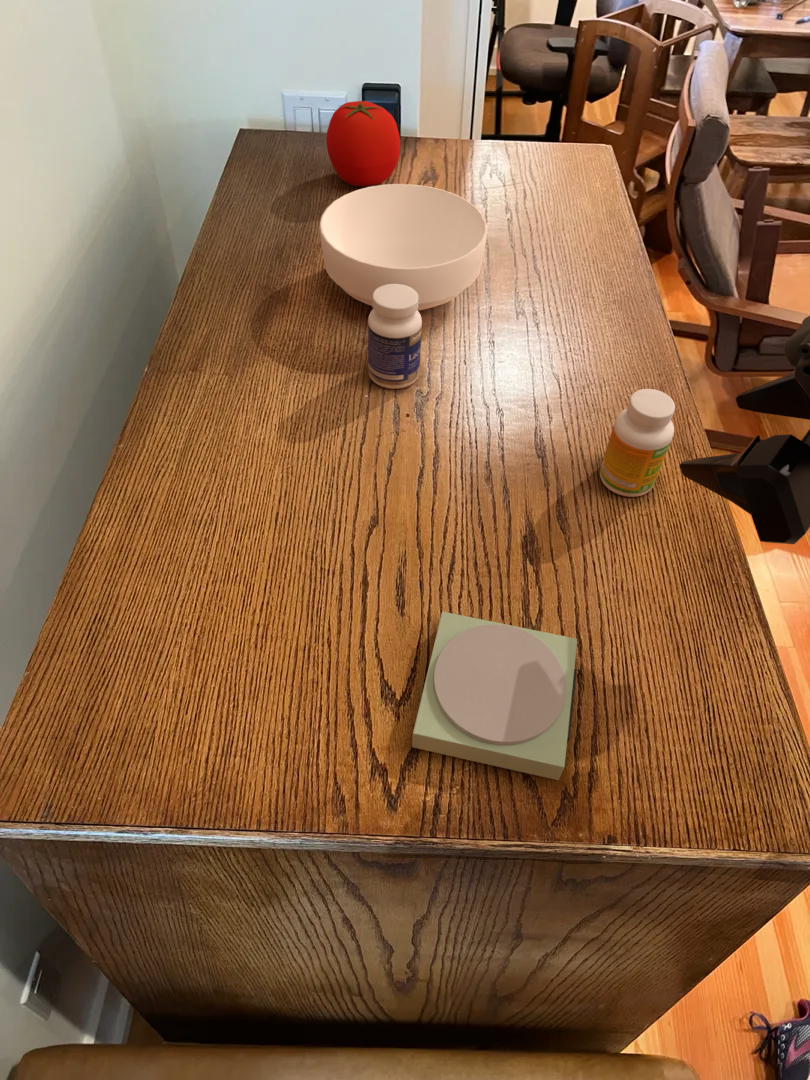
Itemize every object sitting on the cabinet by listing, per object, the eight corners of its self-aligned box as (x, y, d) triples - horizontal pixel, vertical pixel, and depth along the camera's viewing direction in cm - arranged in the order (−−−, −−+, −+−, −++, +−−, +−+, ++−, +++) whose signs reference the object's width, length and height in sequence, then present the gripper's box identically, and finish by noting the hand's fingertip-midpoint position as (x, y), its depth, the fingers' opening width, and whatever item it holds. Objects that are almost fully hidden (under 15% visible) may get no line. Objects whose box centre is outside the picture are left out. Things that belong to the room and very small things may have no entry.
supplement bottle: (642, 506, 74) (672, 430, 66) (590, 484, 75) (613, 408, 68) (661, 472, 77) (691, 396, 69) (610, 452, 78) (635, 375, 71)
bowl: (293, 277, 97) (287, 212, 91) (415, 231, 105) (418, 169, 99) (385, 354, 88) (386, 289, 81) (512, 298, 95) (522, 234, 89)
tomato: (363, 157, 119) (362, 81, 110) (413, 181, 114) (415, 103, 106) (312, 180, 114) (307, 101, 105) (362, 205, 109) (361, 126, 101)
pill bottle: (419, 391, 84) (423, 312, 76) (366, 390, 83) (365, 310, 76) (419, 359, 87) (423, 280, 80) (369, 357, 87) (368, 278, 79)
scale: (574, 654, 63) (582, 634, 61) (561, 781, 56) (569, 764, 54) (440, 627, 64) (442, 606, 62) (411, 747, 57) (412, 729, 55)
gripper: (975, 227, 47) (735, 279, 60) (861, 388, 39) (609, 411, 51) (1000, 383, 52) (773, 402, 64) (904, 557, 44) (663, 541, 56)
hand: (710, 434), depth 59 cm, fingers open, 9 cm apart
